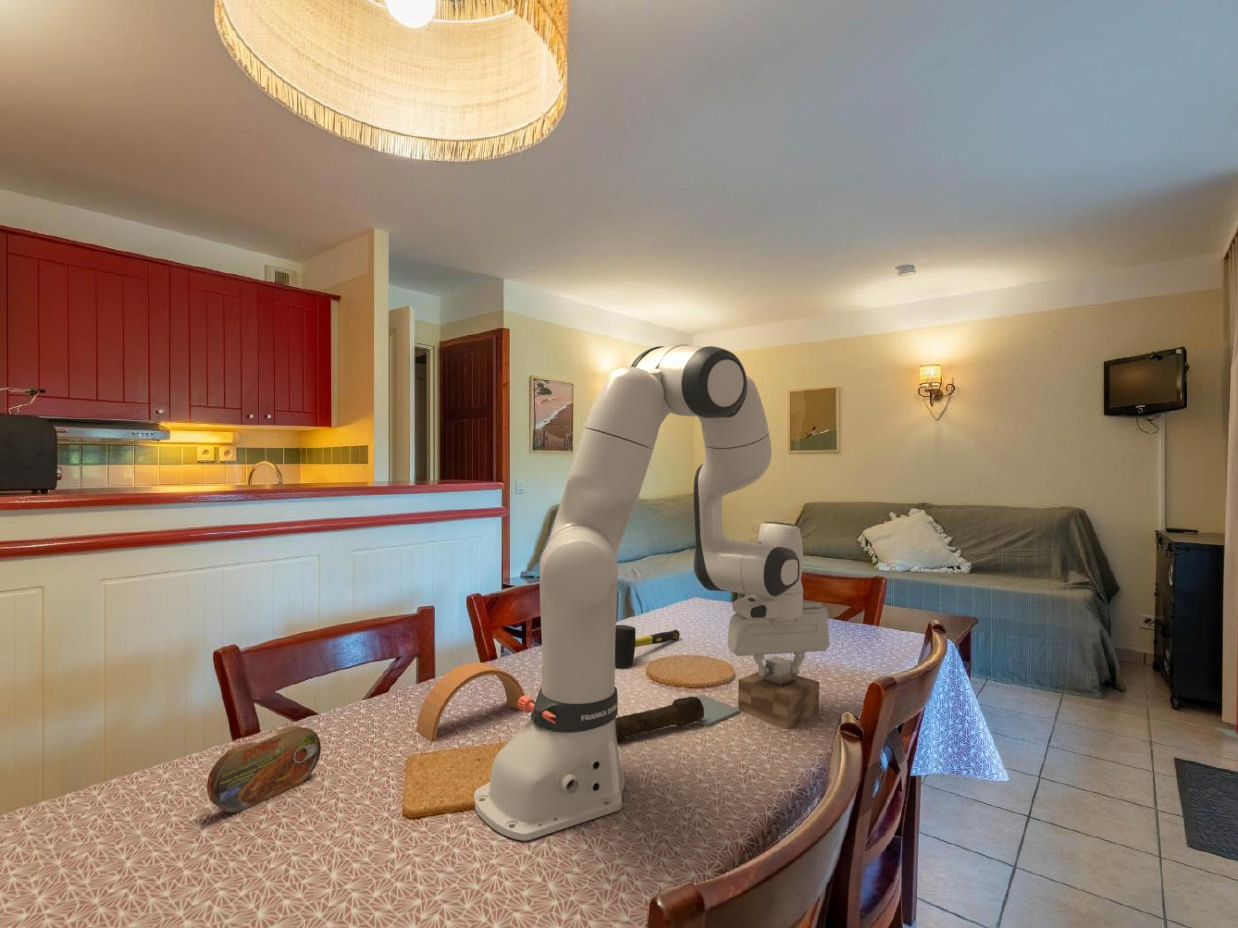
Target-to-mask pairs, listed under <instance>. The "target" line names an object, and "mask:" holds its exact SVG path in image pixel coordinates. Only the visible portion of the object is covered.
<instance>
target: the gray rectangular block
mask: <svg viewBox="0 0 1238 928" xmlns="http://www.w3.org/2000/svg"><path fill="white" fill-rule="evenodd" d="M792 661H793V660H791V659H789V658H788V659H787V658H784V657H781V656H777V655H775V656H773V657H769V658H766V659H765V665H766V666H767V667H768V668H769V676H768V677H765V682H768V683H771V684H774V685H777V686H780V687H785V686H787V685H789V684H792Z"/></svg>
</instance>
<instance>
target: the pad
mask: <svg viewBox="0 0 1238 928" xmlns="http://www.w3.org/2000/svg"><path fill="white" fill-rule="evenodd" d="M695 697H697V698H699V699H700V700H701V703H702V705H703V707H704V717H703V718H702V719H700V720H698V721H696V722H695V723H698V724H700V725H702V726H705V727H707V728H708V727H710V726H713V725H714V724H717V723H720V722H721V721H724V720H727V719H729V718H731V717H733V716H735V715H738V714H739V713H741V712H742V711H741V709H738V707H735V706H733V705H730V704H727V703H726V702H722V701H720V700H717V699H715V698H712V697H710V696H707V695H706V694H698V695H695Z"/></svg>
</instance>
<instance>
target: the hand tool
mask: <svg viewBox="0 0 1238 928" xmlns="http://www.w3.org/2000/svg"><path fill="white" fill-rule="evenodd" d="M703 717H704V707H703V705H702V703H701V700H700V699H699V698H697V697H696V696H687V697H682V698H676V699H674V700H673V702H672V704H669V705H666V706H663V707H658V708H653V709H649V710H645V711H641V712H634V713H631V714H627V715H622V716H616V717H615V723H616V737H617V742H618V741H619V740H624V741H625V740H626V739H627V737H632V736H635V735H638V734H639V735H640V734H643V733H647V732H652V731H656V730H660V729H663V728H667V727H670V726H676V727H679V728H684V727H687V726H690V725H692V724H694V723H697V722H696V721H698V720H700V719H702V718H703Z"/></svg>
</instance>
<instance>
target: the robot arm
mask: <svg viewBox="0 0 1238 928" xmlns="http://www.w3.org/2000/svg"><path fill="white" fill-rule="evenodd" d="M669 414H673V415H676V416H682V417H697V418H698V420H699V422H700V425H701V433H702V439H703V444H704V451H705V453H704V460H703V463H702V464H701V465H699V466H698V468H697V469H696V471H695V473H694V479H693V480H694V481H693V512H694V517H693V518H694V533H695V535H694V537H695V547H694V556H693V571H694V574H695V576H696V578H697V580H698V581H699V583H700V585H702V586H703V588H704V589H705V590H707V591H713V592H729V593H730V592H732V593H736V594H744V595H746V596H744V597H741V598H738V599H736V600H734V601H732V610H733V612H735V613H733V614H732V616H731V617H730V620H729V624H728V631H727V632H728V633H727V646H728V649H729V650H730V652H732V654H734V655H735V656H736V657H745V656H746V657H747V656H749V657H750V656H752V658H753V659H754V662H755V663H756V665H757V666H758V667H757V669H758V670H757V672H758V673H759V675H760V676H761V677H768V676H769V668H768V667H767V666H766V664H764V663H763V661H764V660H765V656H766V655H776V654H777V655H779V654H793V655H794V657H793V660H792V675H798V676H799V674H800V666H801V665H802V663H803V662H804V659H805V657H806V654H805V653H811V652H824V651H827V649H828V648H829V647H830V632H829V626H828V619H829V617H828V616H829V613H828V609H827V607H826V606H825V605H823V604H822V603H821V602H812V603H808V602H805V603H804V587H803V584H802V575H803V570H804V547H803V538H802V533H801V529H800V528H799V527H798V526H797V525H795V524H793V523H789V522H787V523H786V522H779V521H765V522H762V523H761V524H760V527H759V530H758V531H759V532H758V539H757V540H756V541H755V542H751V541H740V540H732V539H730V538H727V536H725V535H724V534H723V512H722V511H723V510H722V509H723V507H722V500H723V497H724V496H726V495H729V494H731V493H735V492H737V491H739V490H743V489H744V488H746V487H749V486H751V485H752V484H754V483H755V482H757V481H759V480H760V478H761V477H762V476H763V475H764V474H765V473H766V471H767V470H768V468H769V467H770V464H771V460H772V444H771V443H772V442H771V437H770V432H769V426H768V421H767V417H766V413H765V409H764V406H763V402H762V399H761V396H760V392H759V391H758V388H757V385H756V384H755V382H754V380H753V379H752V378H751V377H749V376H748V375H747V373H746V369H745V368H744V365H743V364H742V362H741V360H740V358H738V357H737V356H736V355H735V354H734V353H733V352H732V351H729V350H727V349H725V348H721V347H718V346H713V345H711V346H710V345H709V346H708V345H707V346H700V345H690V344H684V343H683V344H674V345H667V346H663V345H662V346H661V345H660V346H658V345H657V346H654V347H650V348H649V349H647V350H645V351H642V353H640V355H638V356H637V357H636V358H635V359H634V361H633V362H632V364H631V365H630V366H623V367H618V368H616V369H614V370H612V371H610V373H608V375H607V377H605V380H604V382H603V383H602V385H601V387H600V389H599V391H598V393H597V395H596V397H595V399H594V400H593V403H592V406H591V407H590V411H589V412H588V415H587V417H586V420H585V421H586V422H585V423H584V428H583V430H582V433H581V435H580V438H579V439H580V440H579V442H578V445H577V449H576V451H575V454H574V458H573V461H572V465H571V468H570V470H569V473H568V477H567V481H566V484H565V487H564V490H563V493H562V497H561V499H560V502H559V503H560V504H559V507H558V510H557V513H556V516H555V519H554V523H553V526H552V529H551V533H550V535H549V539H548V541H547V544H546V546H545V548H544V550H543V552H542V554H541V557H540V561H539V605H540V606H539V609H540V610H539V611H540V628H541V688H540V689H539V691H538V693H537V696H536V698H535V700H534V699H532V698H530V697H528V695H525V696H522V697H520V700H519V701H518V702H519V703H518V704H517V705H519V706H518V708H519V709H521V710H520V711H522V710H523V711H524V713H526V714H530V713H531V714H530V719H529V720H528V721H527V722H526V723H525V724H524V725H523V726H522V727H521V728H520V729H519V731H518V732H517V733H515V735H514V736H513V737H512V738H511V739H510V740H509V741H508V742H507V743H506V744H505V745H504V746H503V747H502V749H500V750H499V751H498V753H496V755H495V757H494V760H493V763H492V766H491V773H490V778H489V782H487V783H485V784H483V785H482V786H480V787H478V788H476V790H475V791H474V794H473V802H474V801H475V807H474V809H475V812H476V813H477V814H478V816H479V817H480V818H481V819H482V820H483V821H484V822H485V823H486V824H487V825H488V826H489V827H491V828H492V829H493V830H494V831H496V832H498V833H500V834H501V835H503V836H506V837H508V838H510V839H514V840H518V841H526V842H527V841H531V840H534V839H536V838H540V837H543V836H546V835H548V834H549V835H550V834H551V833H555V832H558V831H560V830H564V829H566V828H567V829H568V828H569V827H574V826H576V825H579V824H582V823H585V822H587V821H591V820H594V819H597V818H599V817H600V818H601V817H603V816H606V815H609V814H612V813H616V812H618V811H620V810H621V809H622V808H623V798H622V793H623V792H624V789H625V786H626V779H625V776H624V773H623V769H622V765H621V759H620V754H619V753H620V752H619V748H618V747H619V746H618V741H617V737H616V723H615V718H617V717H618V713H619V711H618V709H619V703H618V701H619V699H618V698H619V696H618V688H617V687H616V686H615V685H616V666H615V633H616V625H617V607H618V606H617V605H618V579H619V578H618V573H619V572H618V571H619V569H618V567H619V565H618V559H617V555H618V551H619V548H620V546H621V543H622V540H623V537H624V535H625V532H626V530H627V526H628V524H629V521H630V518H631V517H632V514H633V512H634V509H635V508H636V504H637V502H638V500H639V497H640V494H641V490H642V487H643V484H644V481H645V478H646V474H647V471H648V470H649V469H648V468H649V465H650V462H651V459H652V456H653V453H654V449H655V446H656V443H657V439H658V436H659V431H660V427H661V425H663V422H664V420H665V419H666V418H667V417H668V415H669ZM519 709H518V710H519ZM481 799H484V801H479V800H481Z"/></svg>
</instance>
